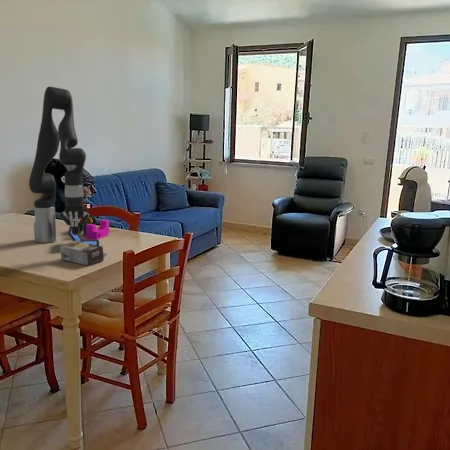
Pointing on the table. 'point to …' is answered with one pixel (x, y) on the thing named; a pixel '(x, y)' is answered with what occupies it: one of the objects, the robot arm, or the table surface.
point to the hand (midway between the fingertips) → (75, 234)
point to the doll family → (86, 222)
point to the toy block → (97, 230)
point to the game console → (77, 238)
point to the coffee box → (82, 253)
